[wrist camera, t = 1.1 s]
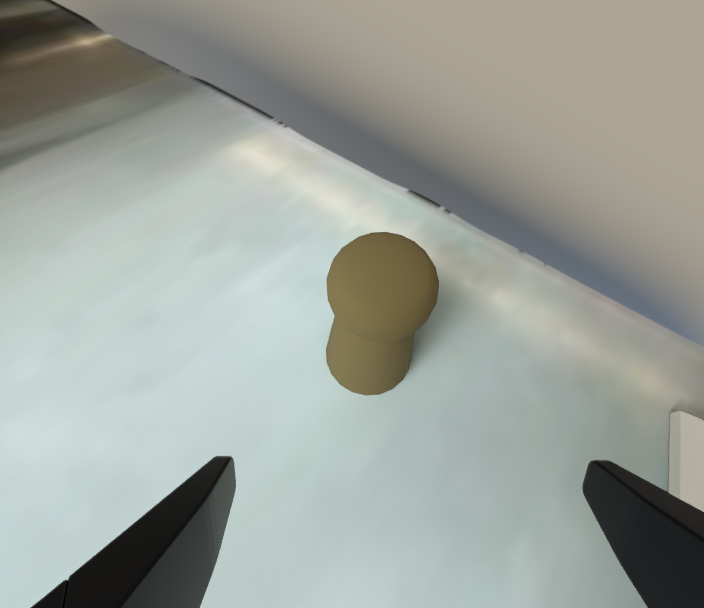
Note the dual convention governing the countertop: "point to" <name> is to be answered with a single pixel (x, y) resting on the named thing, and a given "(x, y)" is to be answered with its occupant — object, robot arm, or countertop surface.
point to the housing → (686, 458)
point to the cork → (377, 309)
